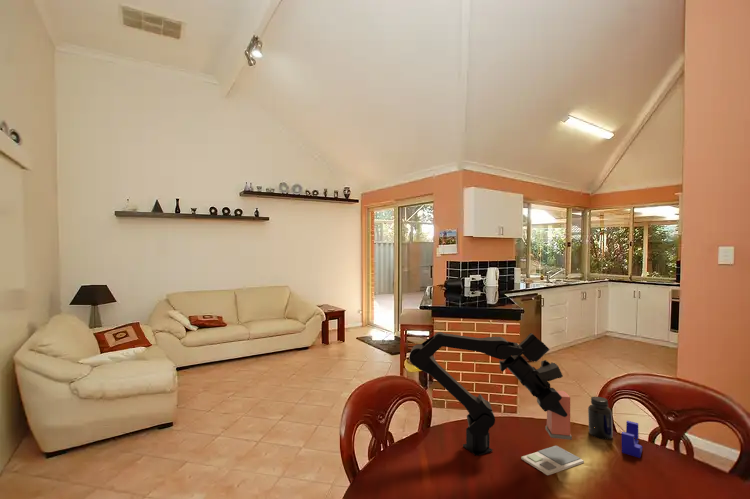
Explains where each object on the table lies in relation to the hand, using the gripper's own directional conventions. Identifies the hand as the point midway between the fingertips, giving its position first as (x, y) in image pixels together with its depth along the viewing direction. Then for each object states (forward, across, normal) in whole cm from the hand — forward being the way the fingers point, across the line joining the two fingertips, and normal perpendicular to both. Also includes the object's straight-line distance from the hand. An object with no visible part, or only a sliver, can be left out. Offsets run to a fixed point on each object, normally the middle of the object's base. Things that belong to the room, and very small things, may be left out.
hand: (563, 412), depth 106 cm
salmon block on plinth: (+4, 0, +6) cm, 7 cm away
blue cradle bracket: (+26, +11, -7) cm, 29 cm away
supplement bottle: (+21, +18, -3) cm, 28 cm away
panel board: (+7, -2, +12) cm, 14 cm away
